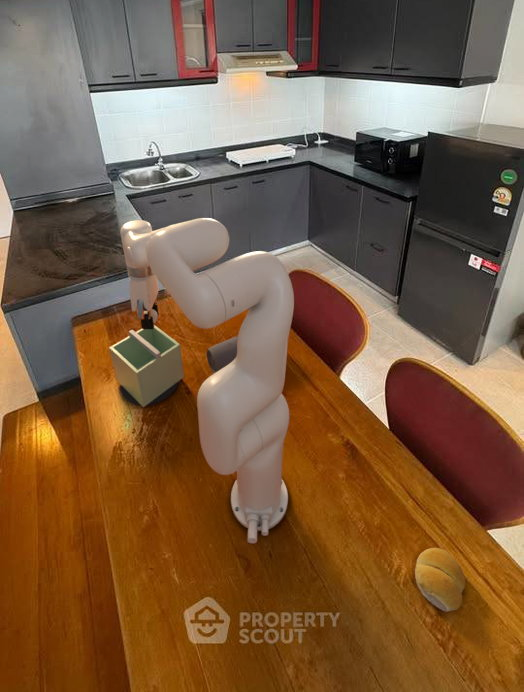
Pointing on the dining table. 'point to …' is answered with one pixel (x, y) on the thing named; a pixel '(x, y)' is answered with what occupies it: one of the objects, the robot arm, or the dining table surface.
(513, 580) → the dining table surface
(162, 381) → the bin
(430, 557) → the bread roll
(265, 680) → the dining table surface
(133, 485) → the dining table surface
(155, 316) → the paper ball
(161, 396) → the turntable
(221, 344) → the bluetooth speaker
